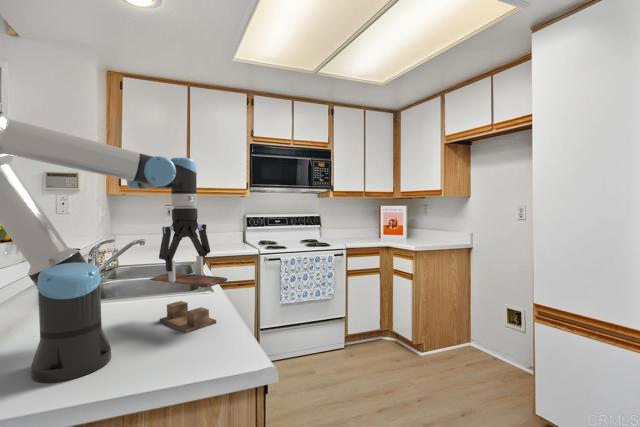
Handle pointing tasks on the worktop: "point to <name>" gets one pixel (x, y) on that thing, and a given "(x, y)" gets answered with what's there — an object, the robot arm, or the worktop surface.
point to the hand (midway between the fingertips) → (186, 278)
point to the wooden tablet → (192, 279)
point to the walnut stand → (186, 317)
